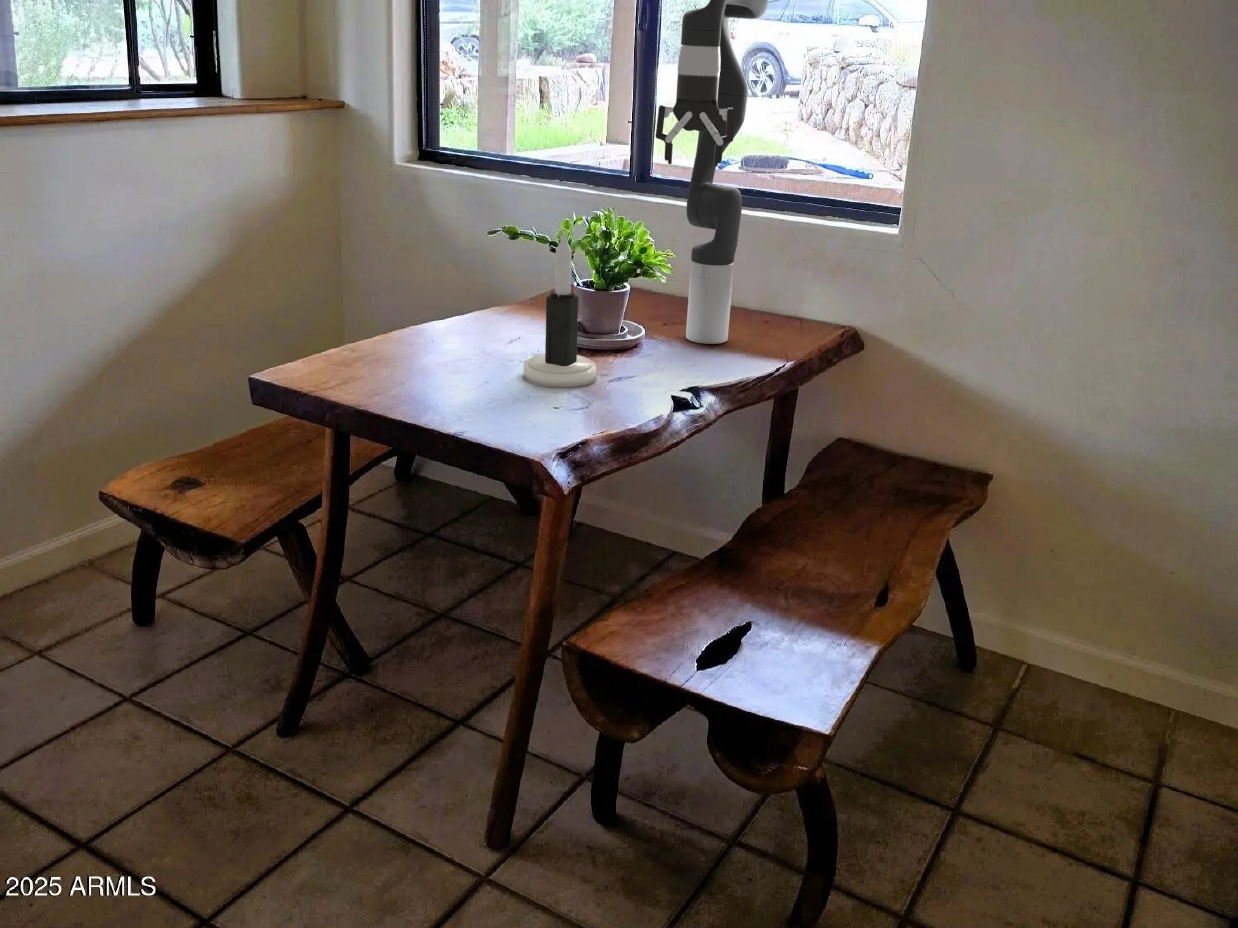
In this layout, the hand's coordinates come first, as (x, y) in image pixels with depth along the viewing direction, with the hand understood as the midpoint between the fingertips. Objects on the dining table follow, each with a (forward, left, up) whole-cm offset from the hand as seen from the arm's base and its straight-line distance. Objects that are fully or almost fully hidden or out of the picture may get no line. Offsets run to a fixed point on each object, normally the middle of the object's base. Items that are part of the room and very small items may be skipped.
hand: (692, 164), depth 209 cm
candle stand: (+8, -23, -40) cm, 47 cm away
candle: (+8, -23, -37) cm, 44 cm away
